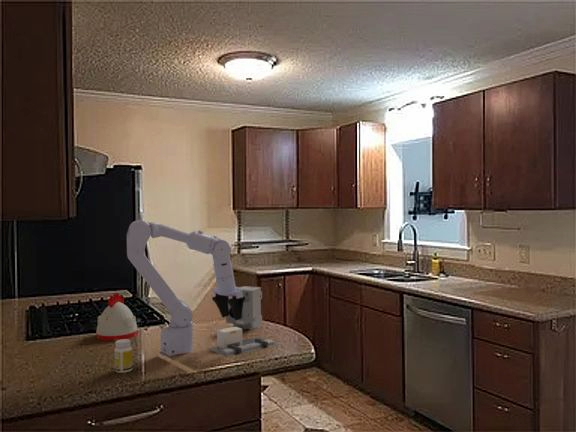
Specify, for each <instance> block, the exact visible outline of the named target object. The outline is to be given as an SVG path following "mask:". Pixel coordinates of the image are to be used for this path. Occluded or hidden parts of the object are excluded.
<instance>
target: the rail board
mask: <svg viewBox="0 0 576 432" xmlns="http://www.w3.org/2000/svg"><path fill="white" fill-rule="evenodd" d="M279 345H281V344H280V343H277V342H275V341H274V340H272V339H266V338H262V337H260V336H257V337H252V338H246V339H243V345H237V344H235V343H232V344H228V345H227V349H222V348H220V347H217V345H215V346H211V347H207V348H206V349H207V350H210V351H212V352H215V353H216V354H220V355H222V356H224V357H227V358H229V357H233V356H237V355H242V354H246V353H250V352H254V351H255V352H256V351H259V350H262V349H267V348H270V347H272V348H273V347H275V346H276V347H277V346H279Z"/></svg>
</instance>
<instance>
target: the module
mask: <svg viewBox="0 0 576 432" xmlns="http://www.w3.org/2000/svg"><path fill="white" fill-rule="evenodd" d="M243 340H244V339H243V328H242V327H241V328H238V327H233V326H232V327H226V328H221V329H217V330H216V346H217V347H220V348H222V349H227V345H228V344H232V343H235V344H237V345H243Z"/></svg>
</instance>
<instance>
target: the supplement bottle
mask: <svg viewBox="0 0 576 432" xmlns="http://www.w3.org/2000/svg"><path fill="white" fill-rule="evenodd" d="M131 345H132V344H131V339H130V338H128V339H121V340H115V348H114V372H116V373H118V374H119V373H120V374H124V373H129V372H131V371H132V370H133V367H134V366H133V347H132V346H131Z"/></svg>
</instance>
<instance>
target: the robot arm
mask: <svg viewBox="0 0 576 432" xmlns="http://www.w3.org/2000/svg"><path fill="white" fill-rule="evenodd" d="M150 237H151V238H152V239H155V238H161V237H162V238H165V239H166V238H167V239H171V240H173V241H177V242H180V243H186V246H187V247H188V249H189V250H193V251H196V252H199V253H202V254H206V255H211V256H212V260H213V270H214V274H215V275H214V276H215V281H216V282H215V283H216V287H215V288H212V293H213V295H214V296H212V297H211V299H212V301H213V302H214V303H215V305H216V307H217V309H218V312H219V313H220V315H221V317H222V318H226V316H229V309H228V303H229V304H230V306H231V309H232V312H233V315H234V319H235V320H239V319H241V318H242V308H243V303H244V300H245V296H243V293H242V291H240V290H238V289H239V286H236V280H235V275H234V274H235V273H234V269H233V264H232V260H231V253H232V247H231V246H230V244H229V243H228V241H226V240H224V239H222V238H219V237H218V236H216V235H209V234H208V235H207V234H205V233H204V232H203V231H202V230H197V231H196V230H194V231H192V232H189V233H188V232H185V231H182V230H179V229H176V228H174V227H170V226H169V225H168V226H167V225H164V224H161V223H159V222H158V223H157V222H153V221H147V222H146V221H144V220H142V219H138V220H134V221H132V222H131V223H130V224H129V227H128V229H127V231H126V256H127V259H128V260H129V262H130V263H131V264H132V265H133V267H134V268H135V270H137V272H138V273H139V274H140V276H141V277H142V278H143V279H144V281H145V282H146V283H147V285H148V286H149V288H151V290H152V291H153V292H154V294H155V295H156V296H157V297H158V299H159V300H160V301H161V302H162V304H163V305H164V306H165V308H166V309H167V311H168V314H169V316H170V317H171V320H170V321H169V324H168V326H166V327H163V328H161V330H160V352H159V354H160V355H163V356H164V357H166V358H168V359H171V360H172V359H173V358H172V357H171V356H176V355H180V354H188V353H191V352H193V351H194V331H193V330H194V329H193V328H194V324H193V321H192V320H193V318H194V313H193V311H192V309H191V308H190V307H189V305H188V304H187V302H185V301H183V300H181V299H180V298H179V296H178V295H176V293H175V292H174V290H173V289H172V288H171V287H170V286H169V284H168V283H167V282H166V280H165V279H164V278H163V276H162V275H161V274H160V273H159V271H158V270H157V269H156V267H155V266H154V264H152V262H151V261H150V260H149V258H147V255H145V250H146V246H147V243H148V241H149V239H150ZM229 297H231V298H229Z"/></svg>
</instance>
